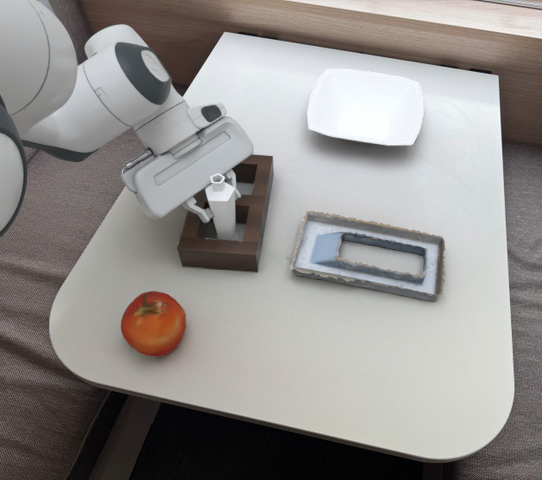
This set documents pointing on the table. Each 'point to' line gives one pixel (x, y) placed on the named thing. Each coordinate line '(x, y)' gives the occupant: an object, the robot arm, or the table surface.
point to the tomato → (154, 323)
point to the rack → (247, 211)
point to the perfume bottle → (222, 207)
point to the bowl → (366, 107)
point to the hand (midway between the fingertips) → (223, 209)
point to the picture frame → (328, 266)
